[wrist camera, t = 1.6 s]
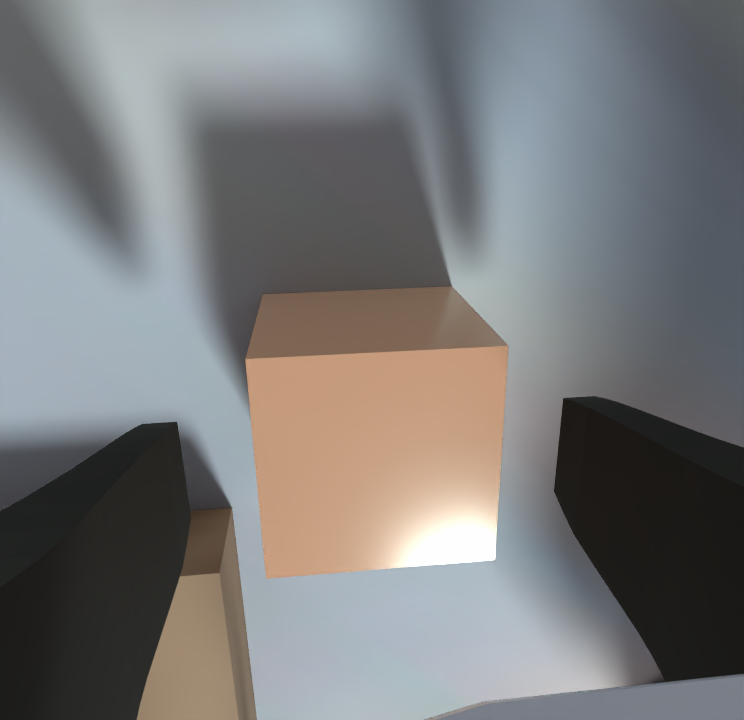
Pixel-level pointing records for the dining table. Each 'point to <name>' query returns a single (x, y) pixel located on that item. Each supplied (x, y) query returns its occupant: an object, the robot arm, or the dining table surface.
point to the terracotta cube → (375, 429)
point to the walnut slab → (203, 633)
